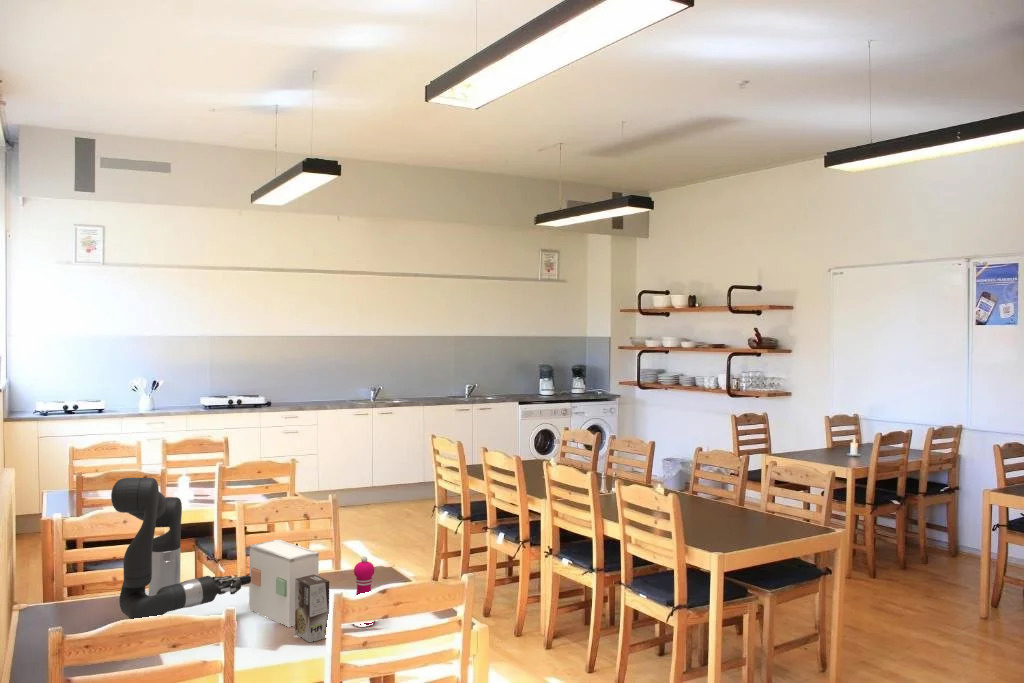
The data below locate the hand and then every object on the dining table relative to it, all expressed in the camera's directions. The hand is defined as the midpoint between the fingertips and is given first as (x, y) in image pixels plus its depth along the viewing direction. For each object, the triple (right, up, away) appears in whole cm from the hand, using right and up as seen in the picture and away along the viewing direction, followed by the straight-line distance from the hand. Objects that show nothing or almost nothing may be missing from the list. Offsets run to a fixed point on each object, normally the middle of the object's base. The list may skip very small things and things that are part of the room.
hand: (249, 578), depth 248 cm
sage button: (+13, -2, -7) cm, 15 cm away
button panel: (+10, -11, +1) cm, 15 cm away
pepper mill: (+36, -12, -6) cm, 38 cm away
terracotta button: (+3, -2, +3) cm, 4 cm away
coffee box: (+23, -12, -16) cm, 30 cm away
